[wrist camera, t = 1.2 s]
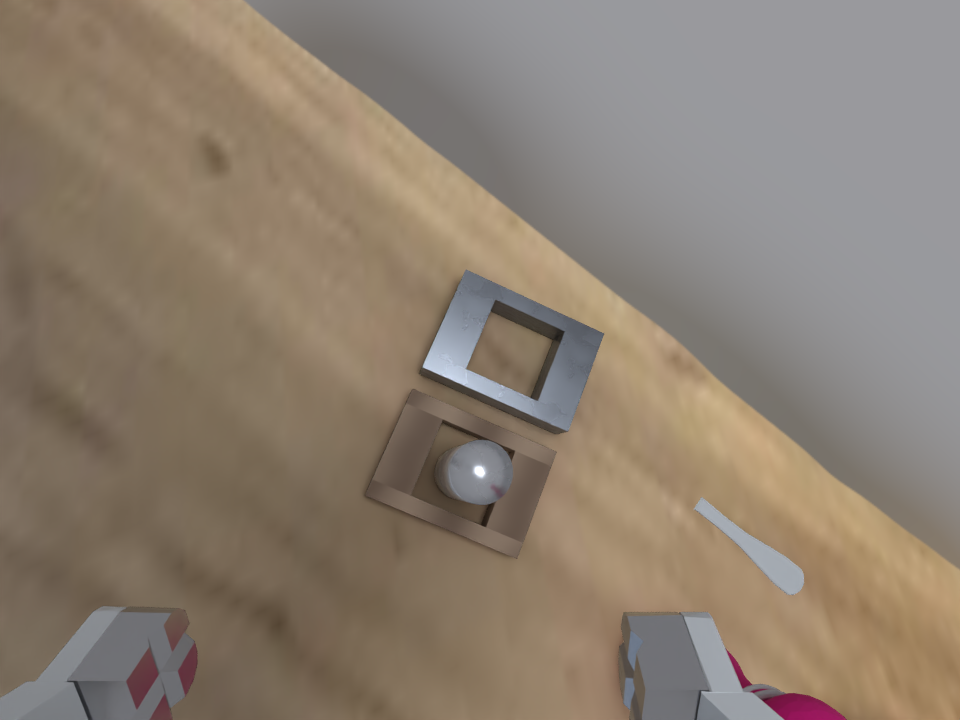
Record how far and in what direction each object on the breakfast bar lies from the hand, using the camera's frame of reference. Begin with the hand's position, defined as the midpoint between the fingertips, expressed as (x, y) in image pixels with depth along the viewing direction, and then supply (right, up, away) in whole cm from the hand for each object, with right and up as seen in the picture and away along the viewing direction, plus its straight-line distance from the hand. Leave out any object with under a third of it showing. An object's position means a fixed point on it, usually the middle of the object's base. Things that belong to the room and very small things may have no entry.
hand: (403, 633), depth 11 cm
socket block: (+4, +5, +37) cm, 38 cm away
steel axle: (0, -4, +35) cm, 35 cm away
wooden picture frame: (0, -4, +35) cm, 35 cm away
